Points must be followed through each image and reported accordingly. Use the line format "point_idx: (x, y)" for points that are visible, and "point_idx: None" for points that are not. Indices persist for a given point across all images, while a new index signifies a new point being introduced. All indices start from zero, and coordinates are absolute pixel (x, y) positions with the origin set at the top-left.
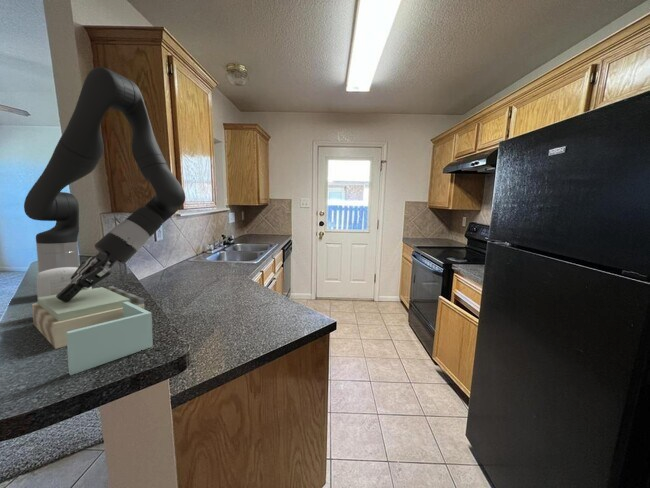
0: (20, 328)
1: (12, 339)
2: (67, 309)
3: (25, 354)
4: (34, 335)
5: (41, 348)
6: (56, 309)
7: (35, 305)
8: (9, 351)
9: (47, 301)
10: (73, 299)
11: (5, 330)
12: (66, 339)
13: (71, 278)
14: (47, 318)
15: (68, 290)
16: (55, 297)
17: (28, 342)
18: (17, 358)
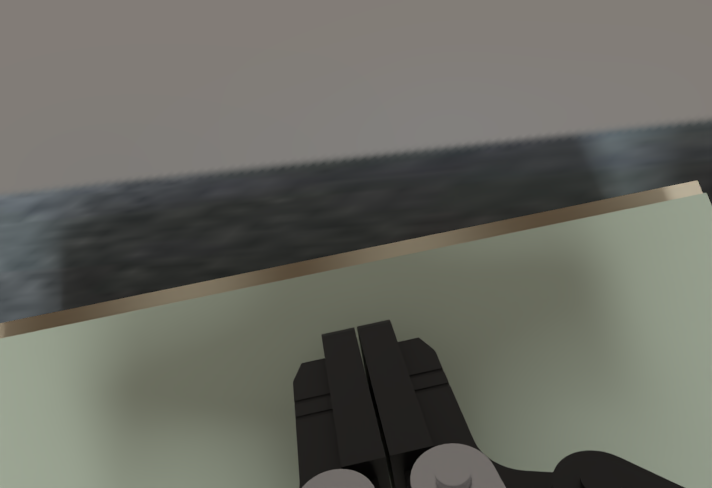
0: (585, 186)
1: (396, 175)
2: (48, 407)
3: (105, 242)
4: None
5: (135, 294)
6: (121, 334)
7: (627, 203)
8: (208, 184)
9: (486, 265)
10: None
11: (593, 132)
12: None
13: (563, 467)
14: (158, 291)
15: (321, 420)
16: (623, 314)
17: (285, 239)
18: (78, 220)
